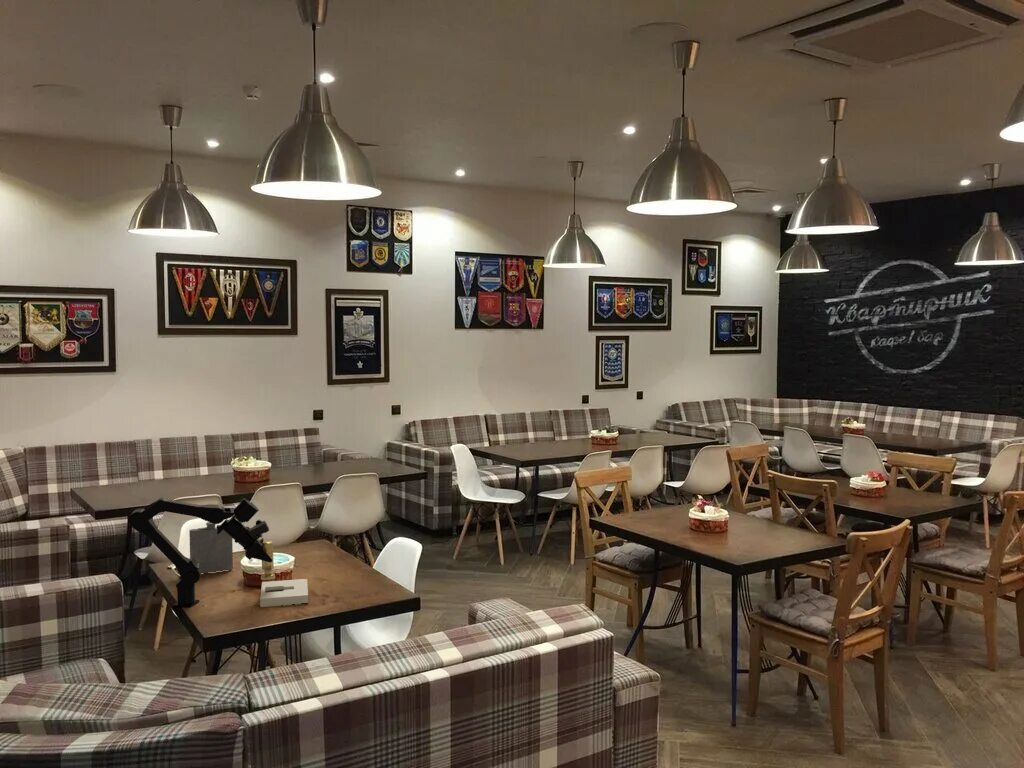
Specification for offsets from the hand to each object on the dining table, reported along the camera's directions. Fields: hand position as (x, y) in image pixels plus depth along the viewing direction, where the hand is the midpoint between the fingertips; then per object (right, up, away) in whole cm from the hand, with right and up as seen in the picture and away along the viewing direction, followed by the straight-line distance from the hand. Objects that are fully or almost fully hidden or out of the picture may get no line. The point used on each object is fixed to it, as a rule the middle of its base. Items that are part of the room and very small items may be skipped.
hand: (271, 559), depth 297 cm
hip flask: (-33, -12, +32) cm, 47 cm away
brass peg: (-1, -7, 0) cm, 7 cm away
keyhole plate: (+3, -13, +1) cm, 14 cm away
